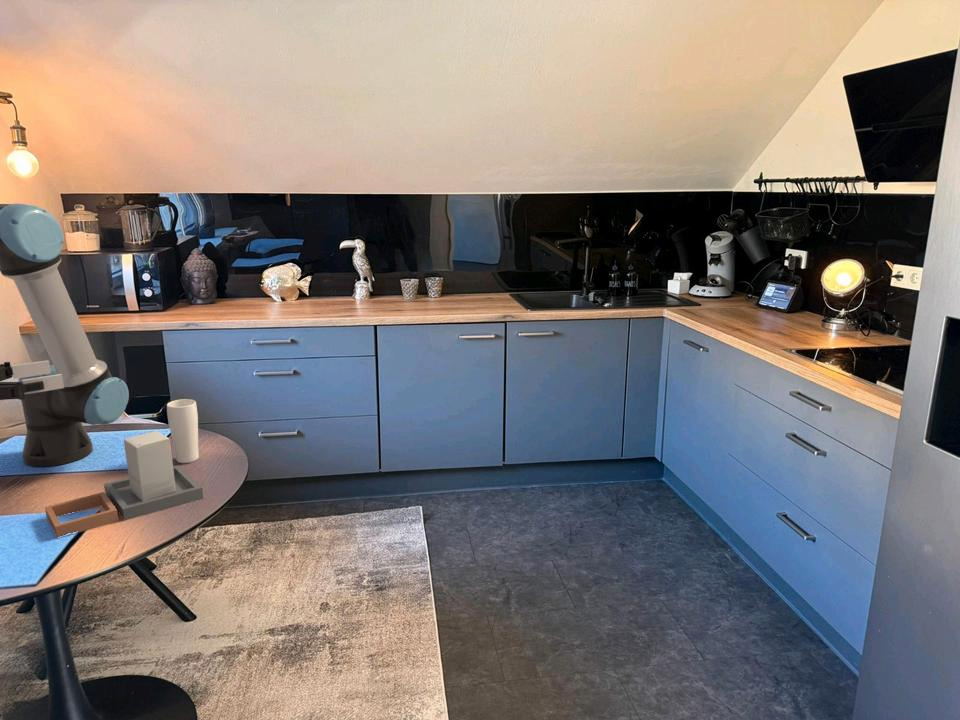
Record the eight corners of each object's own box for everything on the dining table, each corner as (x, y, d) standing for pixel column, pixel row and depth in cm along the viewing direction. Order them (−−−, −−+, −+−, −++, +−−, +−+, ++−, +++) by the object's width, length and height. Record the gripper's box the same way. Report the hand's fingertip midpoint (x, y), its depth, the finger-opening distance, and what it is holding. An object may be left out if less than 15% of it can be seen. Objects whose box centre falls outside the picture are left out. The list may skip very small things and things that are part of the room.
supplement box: (177, 491, 151) (170, 438, 148) (142, 502, 146) (134, 447, 143) (164, 481, 156) (157, 429, 153) (129, 491, 151) (122, 438, 148)
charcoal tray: (105, 494, 152) (103, 483, 152) (179, 474, 162) (178, 465, 162) (124, 520, 141) (122, 509, 140) (203, 497, 151) (202, 487, 150)
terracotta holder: (46, 518, 141) (44, 507, 141) (105, 502, 148) (103, 491, 148) (57, 538, 133) (55, 527, 133) (118, 521, 140) (117, 510, 140)
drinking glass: (191, 466, 167) (185, 408, 163) (167, 464, 168) (160, 406, 165) (207, 455, 174) (201, 399, 170) (183, 453, 175) (177, 398, 171)
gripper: (-78, 397, 134) (47, 378, 148) (-70, 431, 116) (71, 406, 130) (-86, 360, 133) (41, 344, 146) (-79, 389, 114) (65, 368, 128)
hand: (56, 373), depth 138 cm, fingers open, 13 cm apart
